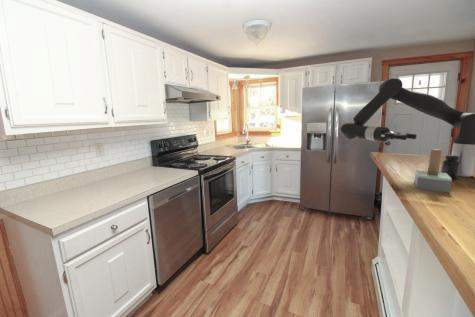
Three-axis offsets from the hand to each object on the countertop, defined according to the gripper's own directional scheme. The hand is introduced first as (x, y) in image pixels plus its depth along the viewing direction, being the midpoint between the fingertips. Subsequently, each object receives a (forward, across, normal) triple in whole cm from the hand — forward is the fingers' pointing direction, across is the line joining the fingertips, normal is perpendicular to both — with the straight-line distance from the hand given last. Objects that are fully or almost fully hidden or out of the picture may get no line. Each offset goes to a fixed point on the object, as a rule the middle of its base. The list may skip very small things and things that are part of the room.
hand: (411, 137), depth 108 cm
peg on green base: (+11, 0, +17) cm, 20 cm away
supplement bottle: (+7, +29, +22) cm, 37 cm away
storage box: (+11, 0, +22) cm, 25 cm away
